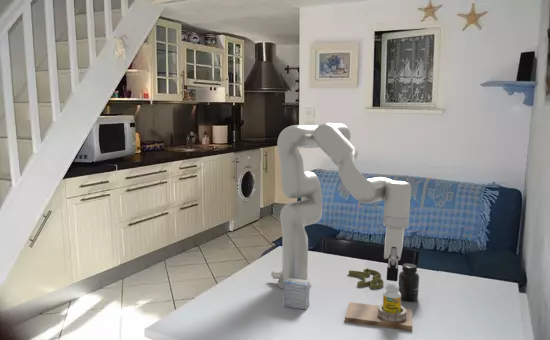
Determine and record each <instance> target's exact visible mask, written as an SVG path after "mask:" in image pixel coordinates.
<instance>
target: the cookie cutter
mask: <svg viewBox="0 0 550 340" xmlns="http://www.w3.org/2000/svg"><path fill="white" fill-rule="evenodd" d="M371 275H372V279H370V280H367V281H366V278H369V277H370V276H371ZM348 276H350V277H355V278H360V279H362V280H359V281H357V284H356V285H357V288H365V287H368V286H369V287H370V289H371V290H375V289H376V290H377V289H381V288H383V287H384V282H385V281H384V280H383V279H382V274H381V273H380V272H379V271H377V270H374V269H369V268H368V267H367V268H365V269H363V271H360V270H359V271H358V270H348Z"/></svg>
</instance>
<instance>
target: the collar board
mask: <svg viewBox="0 0 550 340" xmlns="http://www.w3.org/2000/svg"><path fill="white" fill-rule="evenodd" d="M344 322H345V323H351V324H359V325H365V326H366V325H367V326H373V327H380V328H387V329H395V330H403V331H408V332H410V331H411V332H412V331H413V311H412V309H408V308H405V307H404V306H403V305H401V312H400V313H396V314H394V313H388V312H385V311H383V303H382V304H380V305H377V304H369V303H368V304H367V303H361V302H353V301H349V302H348V306H347V309H346V312H345V316H344Z"/></svg>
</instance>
